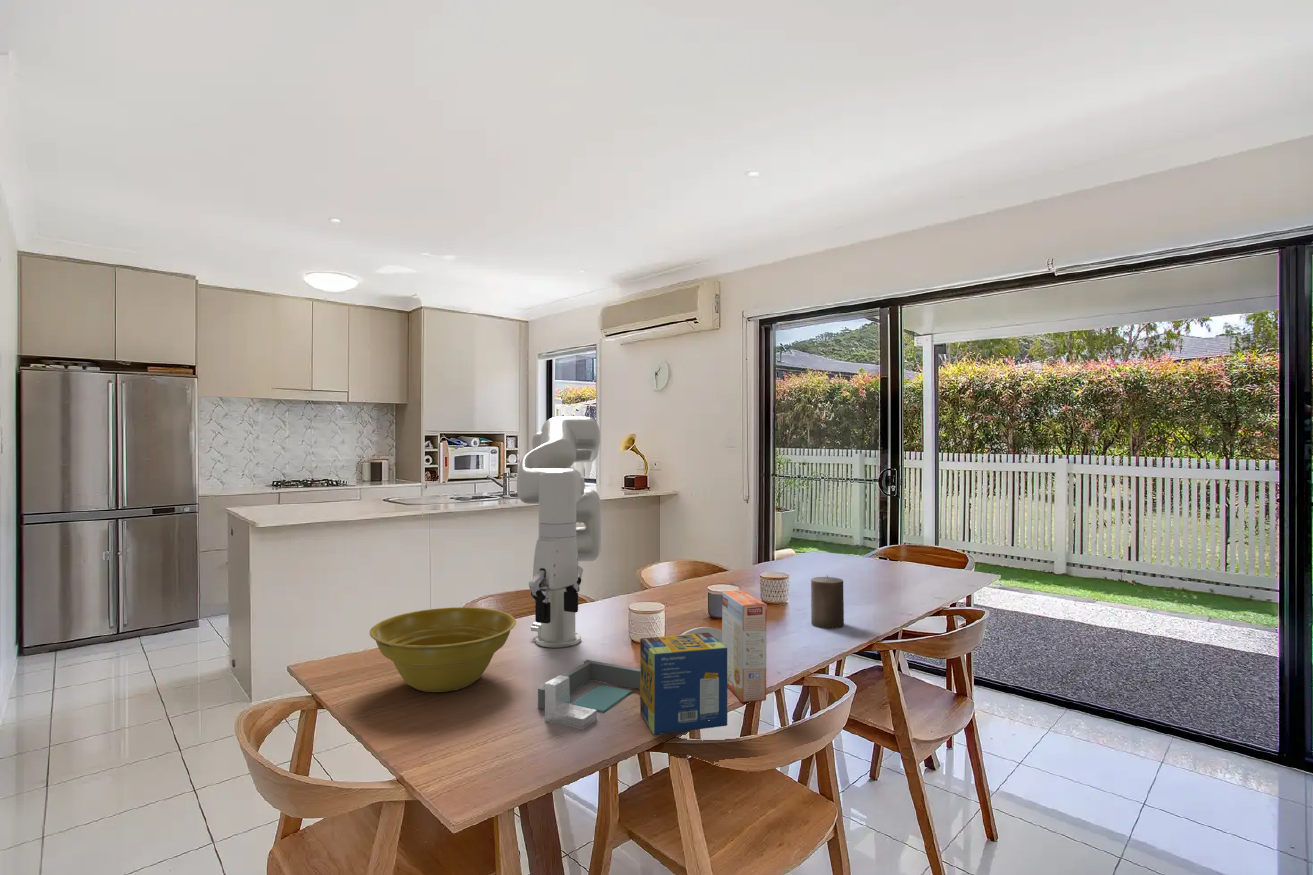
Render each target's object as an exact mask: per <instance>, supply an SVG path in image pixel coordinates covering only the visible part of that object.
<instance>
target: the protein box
mask: <svg viewBox="0 0 1313 875" xmlns="http://www.w3.org/2000/svg"><path fill="white" fill-rule="evenodd" d="M639 641H640V642H639V643H640V644H639V646H640V647H639V648H640V650H639V651H640V652H639V653H640V654H639V655H640V656H639V658H640V663H639V666H640V668H639V669H640V689H639V690H640V691H639V692H640V694H639V698H640V699H639V701H640V702H639V703H640V707H639V708H640V710H639V711H640V715H641V717H642V718H643V720H644V722H645V724H646V725H647V727H648V728H649V730H650V731H651V733H652V735H653V734H654V736H655V735H656V734H657V735H662V734H661V733H666V734H672V733H673V734H674V733H680V732H688V731H697V730H705V729H712V728H721V727H726V726H728V686H727V647H725V646H724V645H723V644H722V643H720V642H719V641H718V640H717V639H716V638H714V637H713V636H712V635H711V634H710V633H709V632H707V633H697V634H685V635H678V634H677V635H665V636H664V635H662V636H656V637H655V636H654V637H643V638H640V639H639ZM708 720H710V721H708Z"/></svg>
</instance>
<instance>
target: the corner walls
mask: <svg viewBox="0 0 1313 875" xmlns="http://www.w3.org/2000/svg"><path fill="white" fill-rule="evenodd" d="M561 676H566V677H569V683H570V694H571V693H572V692H574V691H576V690H577V689H579V688H581V687H583V686H584V685H586V684H587V683H590V681H594V682H597V683H598V682H600V683H603V684H610V685H615V686H620V687H625V686H626V687H627V688H630V687H632V688H631V689H636V688H638V689H637V690H640V668H637V667H632V666H625V665H619V664H615V663H614V664H613V663H608V662H601V661H595V660H591V659H590V660H589V659H586V660H584V661H583V663H581V664H580V665H578V666H576V667H574V668H572V669H571V670H569V671H567V672H565V673H563V674H562V675H561ZM537 708H538V709H541V710H545V684H544V685H542V686H540V687H539V688H538V689H537Z"/></svg>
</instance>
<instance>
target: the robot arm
mask: <svg viewBox="0 0 1313 875" xmlns="http://www.w3.org/2000/svg"><path fill="white" fill-rule="evenodd" d="M542 424H543V425H542V427H541V430H540V431H538V432H536V433H535V434H533V436H532V440H531V446H532V450H531V451H529V452H527V453H526V454H525V455H523V457H522V458H521V461H519V462H520V463H519V465H518V469H517V476H516V493H517V496H518V498H519V500H520V501H521V502H522V503H524V504H527V505H538V538H537V540H536V542H535V543H536V544H535V548H534V556H533V567H532V568H533V570H532V578H531V579H530V581H529V582H528V587H529V590H530V596H531V597H532V598H533V600H532V601H533V603H535V609H534V610H535V616H534V618H535V620H534V621H535V622H533V623H532V624H531V626H530V632H536V633H537V635H536V637H535V640H534V642H535V644H536V645H538V646H540V647H544V648H551V649H552V648H553V649H554V648H555V649H556V648H567V647H571V646H572V647H573V646H575V645H577V644H579V643H580V642H581V641H582V635H581V634H580V633H579V632H576V613H578V612H579V592H580V589H581V587H580V586H581V583H582V577H583V574H584V573H583V572H584V569H583V567H581V566H579V562H594V561H596V560H598V558H599V557H600V555H601V552H602V551H601V550H602V549H601V548H602V505H601V498H600V495H599V493H598V491H596V490H595V489H590V488H589V489H587V488H586V487H585V486H586V484H585V482H586V481H585V478H584V476H582V472H580V471H579V470H578V469H575V468H572V466H573V465H574V463H591V462H593V461H595V460H596V459H597V457H598V455H599V449H600V444H601V430H600V427H599V424H598V422H597V421H596V420H595V419H594V418H593V417H590V416H555V417H554V416H553V417H551V418H549V419H547V420H546V421H544V423H542ZM577 524H582V525H584V526H580V527H578V526H577Z"/></svg>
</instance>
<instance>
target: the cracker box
mask: <svg viewBox="0 0 1313 875" xmlns="http://www.w3.org/2000/svg"><path fill="white" fill-rule="evenodd" d="M721 597H722V598H721V599H722V600H721V601H722V602H721V603H722V604H721V610H722V611H721V612H722V614H721V618H722V619H721V620H722V621H721V625H722V626H721V631H722V644H723V645H724V646H725V647H727V688H729V690H730V691H731V692H732V693H733V694H734V695H735V696H736V697H737V699H738V700H740V701H741V703H749V702H750V703H752V702H765V701H767V629H768V628H767V624H768V622H767V621H768V620H767V614H768V613H767V612H768V611H767V610H768V609H767V608H768V607H767V606H768V605H767V603H765V602H763V601H762V600H760V599H758V598H757V597H755V596H754V595H751V593H749V592H747V591H746V590H729V591H722V596H721Z"/></svg>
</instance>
